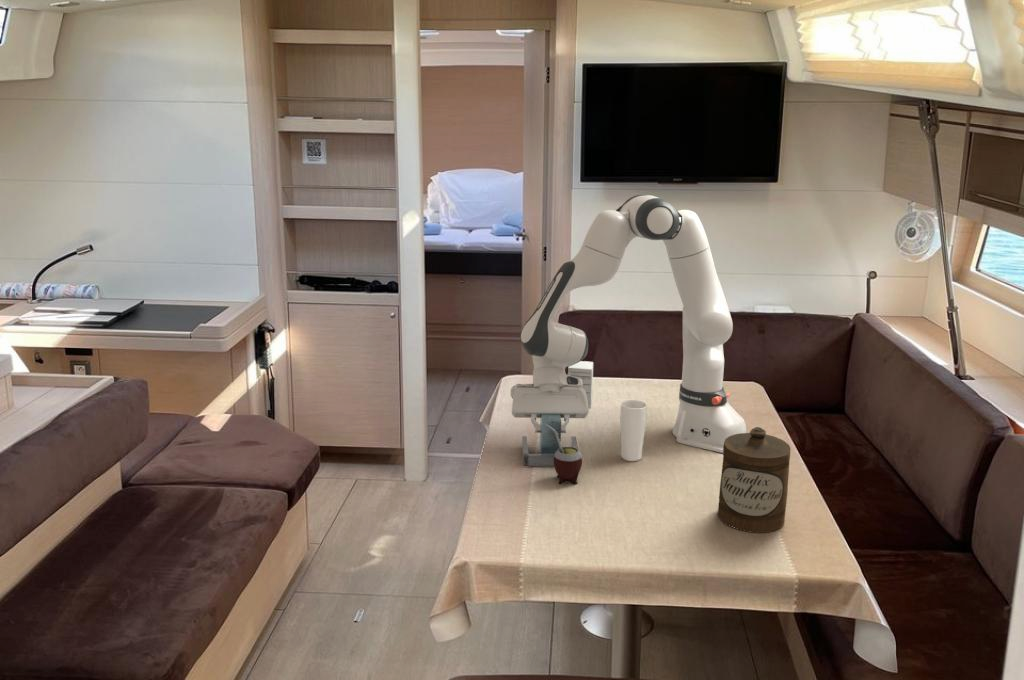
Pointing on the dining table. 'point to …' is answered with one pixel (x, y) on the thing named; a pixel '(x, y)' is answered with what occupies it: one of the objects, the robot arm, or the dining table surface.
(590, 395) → the supplement box
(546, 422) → the block
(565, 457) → the mate gourd
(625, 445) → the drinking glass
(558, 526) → the dining table surface
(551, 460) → the coupler bay
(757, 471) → the wooden container
